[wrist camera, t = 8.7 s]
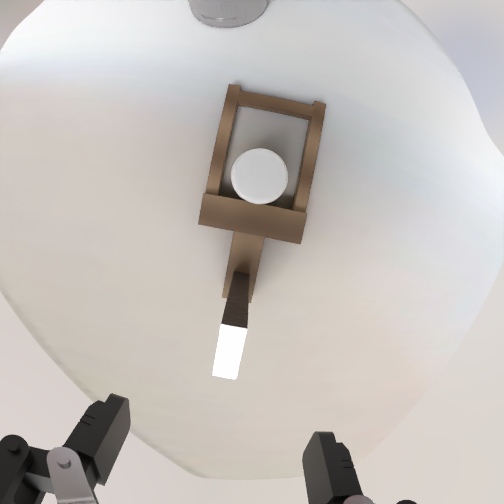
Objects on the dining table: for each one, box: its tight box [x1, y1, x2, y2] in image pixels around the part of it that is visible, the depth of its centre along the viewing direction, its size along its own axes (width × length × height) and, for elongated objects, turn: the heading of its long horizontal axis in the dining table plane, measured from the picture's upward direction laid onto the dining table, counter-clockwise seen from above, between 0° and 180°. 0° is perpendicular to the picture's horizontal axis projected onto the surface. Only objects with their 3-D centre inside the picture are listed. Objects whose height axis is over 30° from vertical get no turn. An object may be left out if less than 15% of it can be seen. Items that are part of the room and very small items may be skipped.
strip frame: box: [198, 84, 326, 380], centre depth 22 cm, size 23×10×14 cm, turn 169°
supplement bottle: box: [231, 148, 288, 204], centre depth 25 cm, size 5×5×8 cm
